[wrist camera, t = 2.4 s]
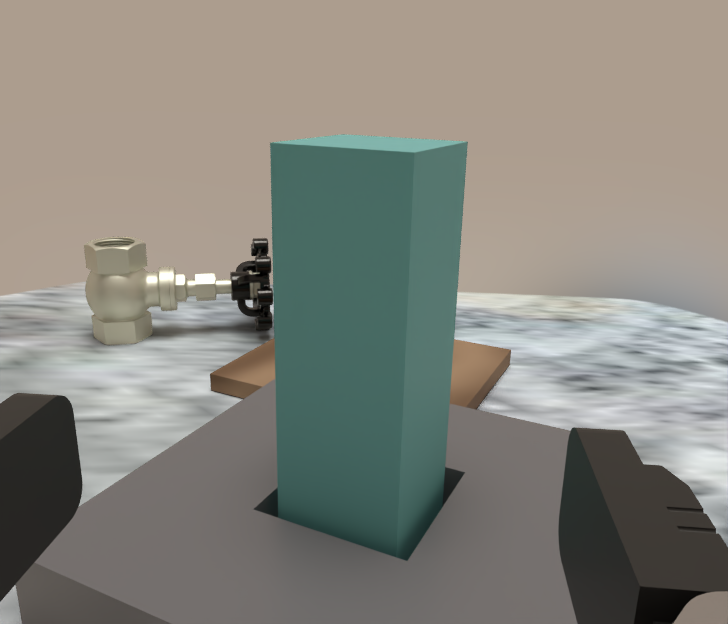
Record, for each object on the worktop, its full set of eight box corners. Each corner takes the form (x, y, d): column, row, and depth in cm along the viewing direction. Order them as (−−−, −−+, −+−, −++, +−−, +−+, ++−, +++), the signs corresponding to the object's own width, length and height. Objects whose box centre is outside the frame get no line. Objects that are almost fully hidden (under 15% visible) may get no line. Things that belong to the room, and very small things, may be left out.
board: (211, 389, 38) (210, 373, 38) (316, 327, 49) (316, 314, 48) (445, 450, 33) (446, 431, 32) (509, 364, 43) (510, 349, 43)
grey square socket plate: (23, 631, 21) (10, 551, 20) (292, 421, 35) (291, 367, 34) (529, 888, 15) (543, 789, 14) (617, 507, 29) (627, 443, 28)
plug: (279, 578, 24) (270, 142, 19) (338, 512, 28) (343, 134, 23) (393, 621, 22) (414, 152, 17) (439, 544, 26) (467, 141, 21)
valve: (83, 357, 43) (274, 345, 45) (71, 255, 41) (272, 249, 43) (98, 322, 49) (265, 314, 52) (88, 232, 47) (263, 228, 49)
